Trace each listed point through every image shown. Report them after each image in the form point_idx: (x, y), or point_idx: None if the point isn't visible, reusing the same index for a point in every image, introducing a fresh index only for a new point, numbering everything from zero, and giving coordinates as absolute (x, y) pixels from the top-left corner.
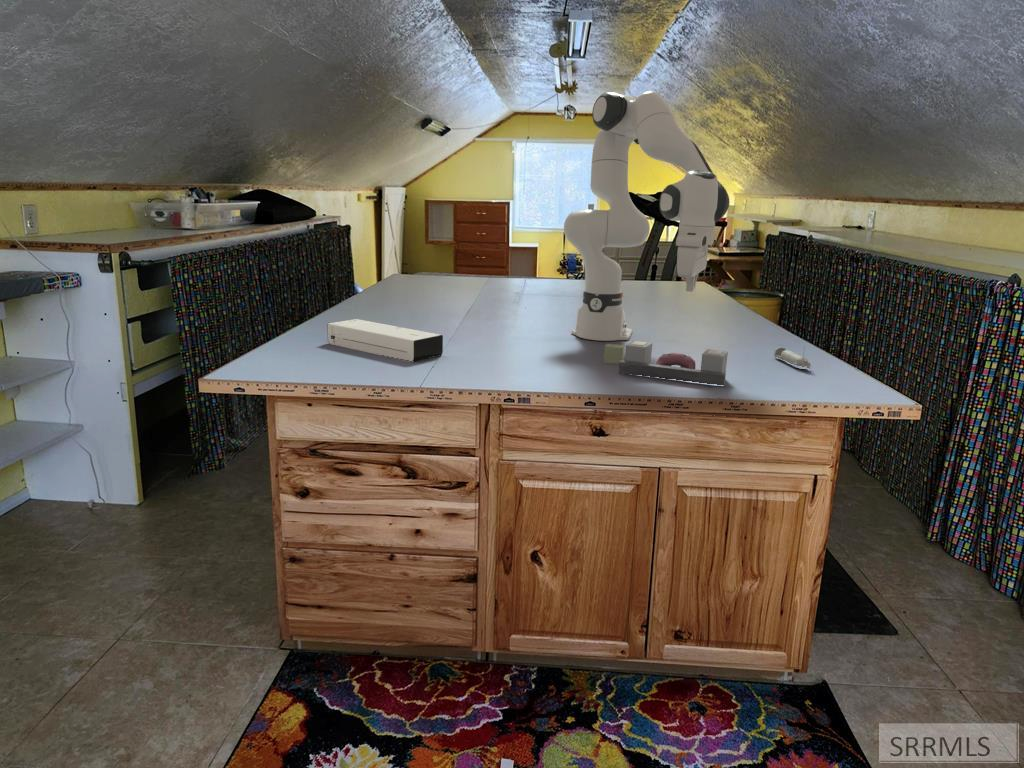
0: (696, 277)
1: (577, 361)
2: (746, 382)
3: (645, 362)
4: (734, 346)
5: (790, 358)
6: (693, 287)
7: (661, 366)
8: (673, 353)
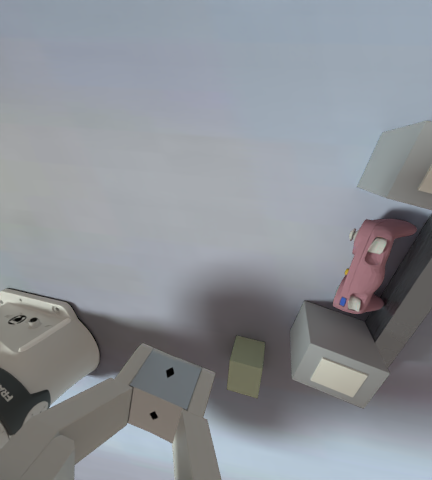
0: (64, 429)
1: (263, 405)
2: (415, 64)
3: (360, 335)
4: (5, 86)
5: None
6: (196, 389)
7: (417, 311)
8: (366, 289)
